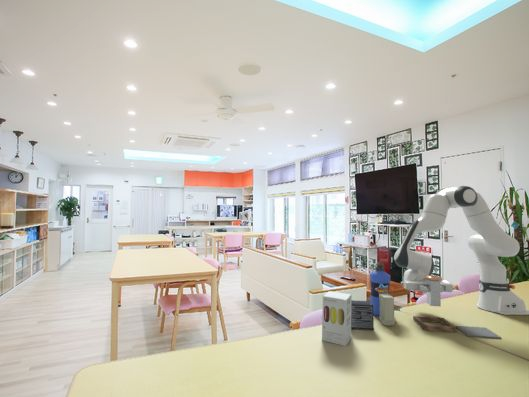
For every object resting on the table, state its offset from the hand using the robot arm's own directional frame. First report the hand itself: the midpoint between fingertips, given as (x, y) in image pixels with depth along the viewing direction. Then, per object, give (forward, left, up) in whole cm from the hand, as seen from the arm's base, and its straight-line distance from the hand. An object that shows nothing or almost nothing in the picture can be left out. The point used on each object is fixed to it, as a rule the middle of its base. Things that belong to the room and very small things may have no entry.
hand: (434, 290), depth 129 cm
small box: (+33, +7, -16) cm, 37 cm away
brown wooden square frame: (0, -1, -15) cm, 16 cm away
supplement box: (+44, +21, -16) cm, 51 cm away
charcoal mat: (-15, +4, -15) cm, 22 cm away
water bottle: (+20, -12, -16) cm, 28 cm away
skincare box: (+20, 0, -16) cm, 26 cm away
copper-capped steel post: (0, -1, -7) cm, 7 cm away
